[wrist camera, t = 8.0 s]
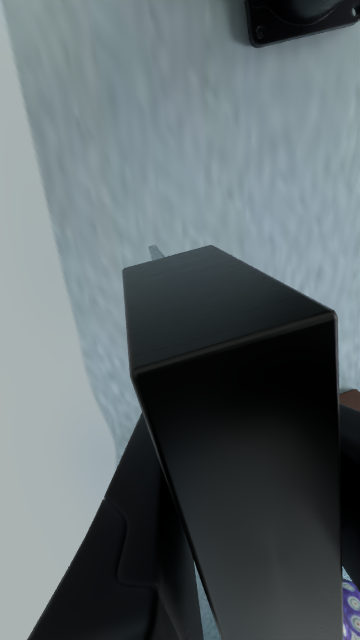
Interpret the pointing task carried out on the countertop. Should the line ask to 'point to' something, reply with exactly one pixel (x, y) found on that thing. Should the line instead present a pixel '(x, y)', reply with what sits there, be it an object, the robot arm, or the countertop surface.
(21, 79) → the countertop surface
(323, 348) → the black handle
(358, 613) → the teapot
